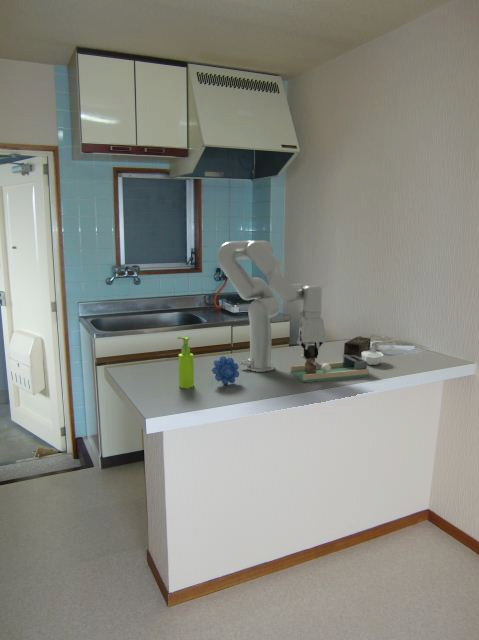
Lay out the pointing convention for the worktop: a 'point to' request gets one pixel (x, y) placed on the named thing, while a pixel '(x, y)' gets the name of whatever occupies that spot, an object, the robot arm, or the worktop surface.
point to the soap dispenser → (186, 365)
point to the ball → (326, 368)
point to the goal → (354, 362)
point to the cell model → (372, 357)
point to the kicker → (311, 361)
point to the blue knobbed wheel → (225, 370)
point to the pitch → (328, 373)
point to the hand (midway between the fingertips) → (310, 357)
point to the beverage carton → (357, 346)
